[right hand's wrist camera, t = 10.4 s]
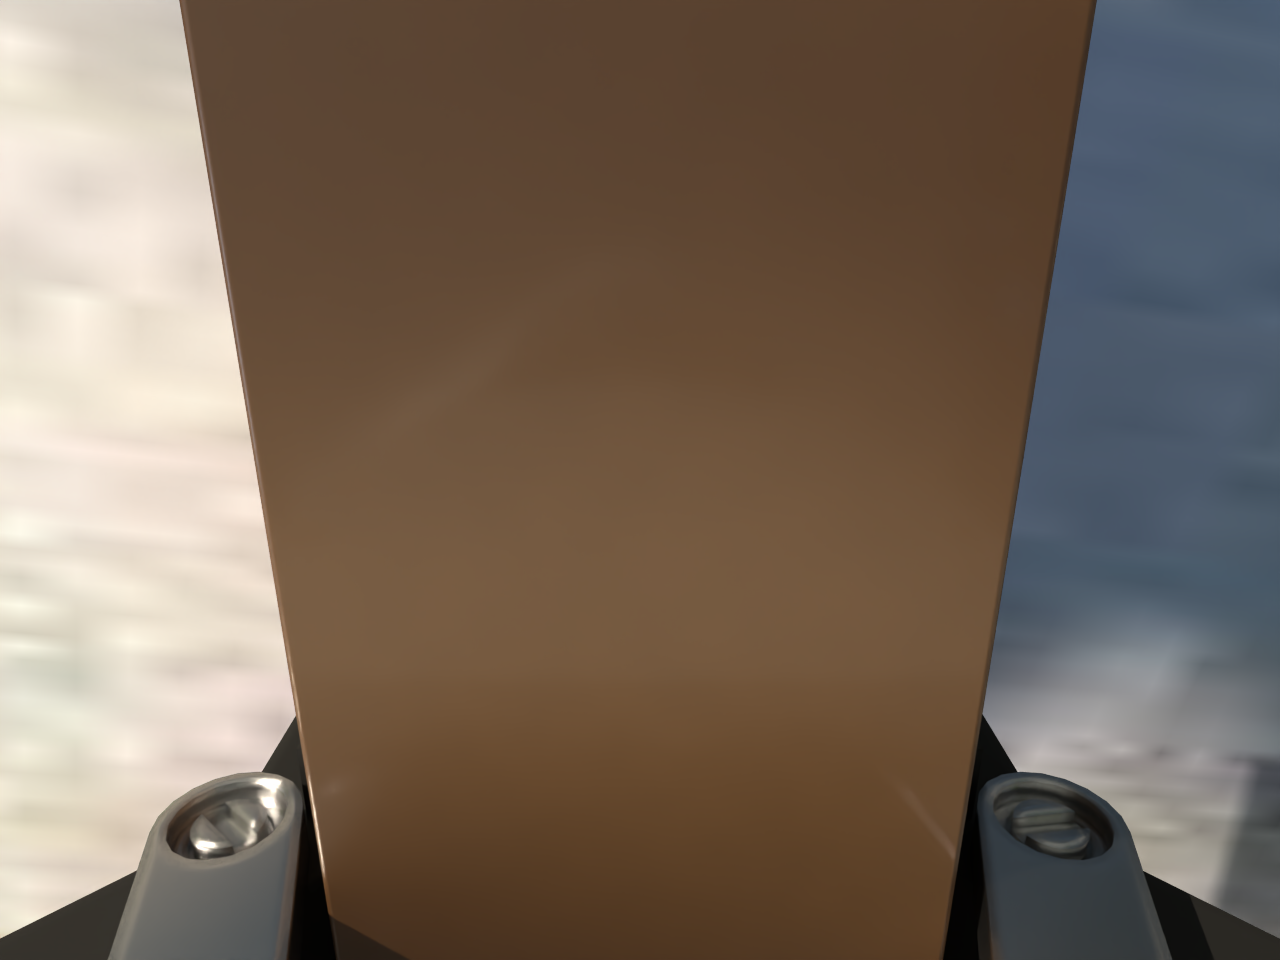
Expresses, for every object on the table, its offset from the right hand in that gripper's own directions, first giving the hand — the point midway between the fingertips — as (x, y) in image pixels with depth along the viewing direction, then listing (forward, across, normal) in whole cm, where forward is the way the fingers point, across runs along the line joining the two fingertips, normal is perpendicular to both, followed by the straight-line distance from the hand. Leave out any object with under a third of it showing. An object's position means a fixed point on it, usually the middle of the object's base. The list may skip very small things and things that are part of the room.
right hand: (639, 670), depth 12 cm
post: (+3, 0, -30) cm, 31 cm away
